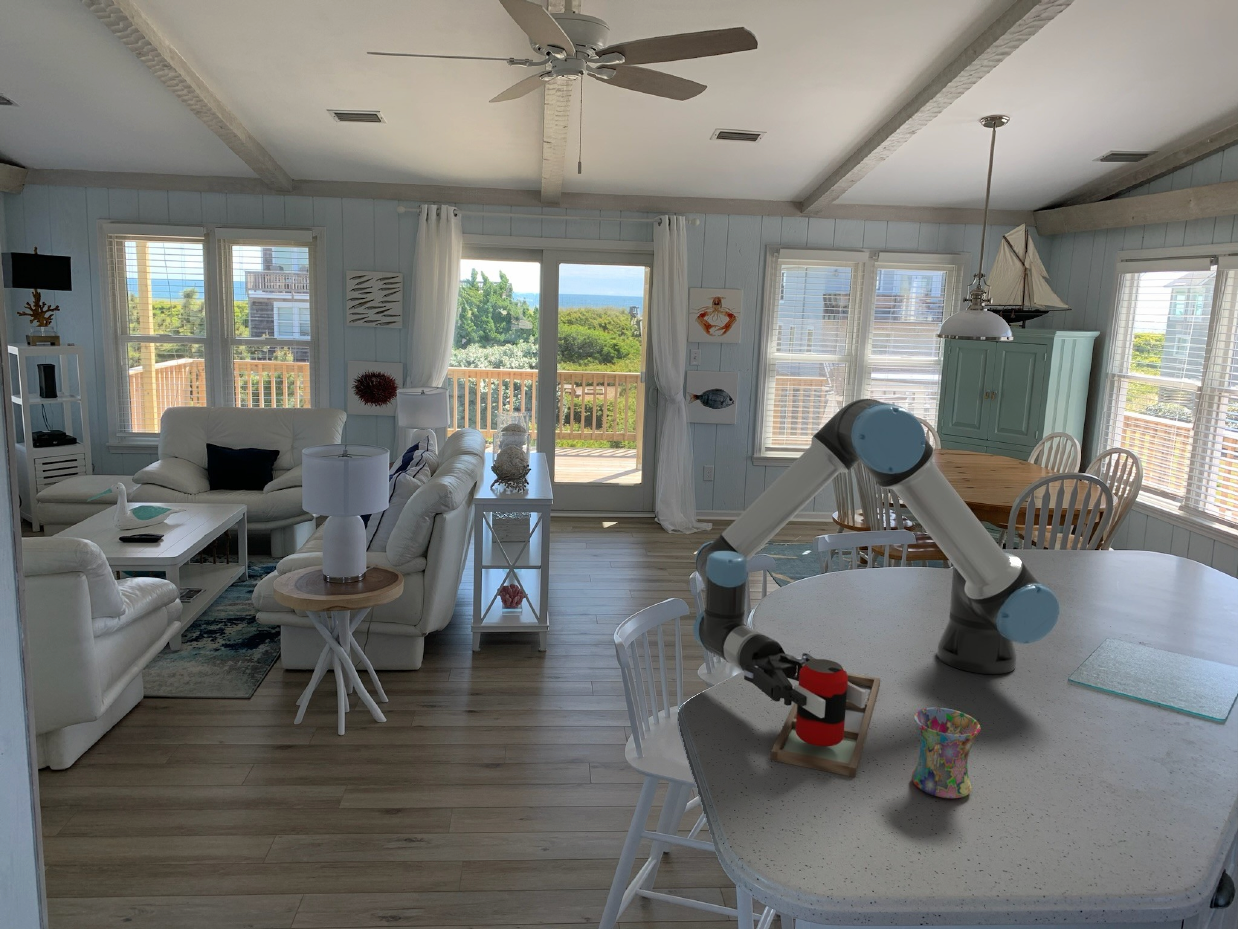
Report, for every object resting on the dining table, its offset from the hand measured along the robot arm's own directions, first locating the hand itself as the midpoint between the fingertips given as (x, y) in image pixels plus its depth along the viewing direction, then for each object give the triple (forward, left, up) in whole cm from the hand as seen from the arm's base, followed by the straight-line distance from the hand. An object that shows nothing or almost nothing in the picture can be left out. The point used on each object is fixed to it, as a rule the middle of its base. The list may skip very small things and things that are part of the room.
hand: (843, 704), depth 136 cm
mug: (-15, +2, -10) cm, 18 cm away
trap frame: (+4, -15, -10) cm, 18 cm away
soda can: (+4, -3, -8) cm, 9 cm away
